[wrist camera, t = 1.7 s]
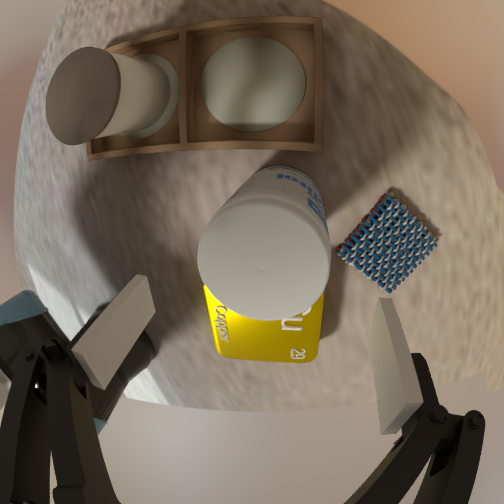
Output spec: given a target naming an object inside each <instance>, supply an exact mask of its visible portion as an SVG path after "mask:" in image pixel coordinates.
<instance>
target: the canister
mask: <svg viewBox="0 0 504 504" xmlns="http://www.w3.org/2000/svg"><path fill="white" fill-rule="evenodd" d="M170 91H171V89H170V82H169V78H168V76H167V74H166V72H165V71H164V70H163V69H162V68H161V67H160V66H158V65H157V64H155V63H151V62H148V61H144V60H140V59H136V58H132V57H128V56H124V55H119V54H115V53H110V52H107V51H106V50H103V49H100V48H94V47H84V48H80V49H78V50H76V51H74V52H72V53H71V54H70V55H68V56H67V57H66V58H65V59H64V60H63V61H62V62H61V64H60V65H59V66H58V68H57V69H56V71H55V73H54V75H53V77H52V79H51V81H50V84H49V87H48V91H47V96H46V116H47V121H48V124H49V127H50V129H51V131H52V133H53V134H54V136H55V137H56V138H57V139H58V140H59V141H61V142H62V143H64V144H67V145H78V144H82V143H86V142H89V141H91V140H93V139H95V138H99V137H104V136H109V135H114V134H120V133H126V132H132V131H138V130H143V129H146V128H148V127H150V126H152V125H153V124H154V123H156V122H157V121H158V120H159V119H160V117H161V116H162V115H163V113H164V112H165V110H166V108H167V105H168V103H169V99H170Z"/></svg>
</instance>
